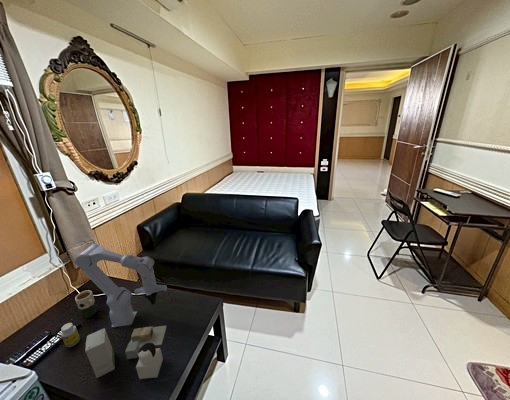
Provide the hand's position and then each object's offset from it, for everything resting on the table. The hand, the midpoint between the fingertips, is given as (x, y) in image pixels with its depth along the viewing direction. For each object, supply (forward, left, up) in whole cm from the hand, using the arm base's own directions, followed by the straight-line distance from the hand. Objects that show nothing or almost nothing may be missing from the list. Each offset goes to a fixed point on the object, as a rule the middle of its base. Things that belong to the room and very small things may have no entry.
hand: (153, 302), depth 107 cm
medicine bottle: (+5, -26, -11) cm, 28 cm away
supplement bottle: (-36, -7, -11) cm, 38 cm away
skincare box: (-15, -21, -11) cm, 28 cm away
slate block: (-5, -18, -10) cm, 21 cm away
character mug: (-37, +9, -11) cm, 40 cm away
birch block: (0, -11, -8) cm, 13 cm away
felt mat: (-2, -11, -10) cm, 15 cm away
